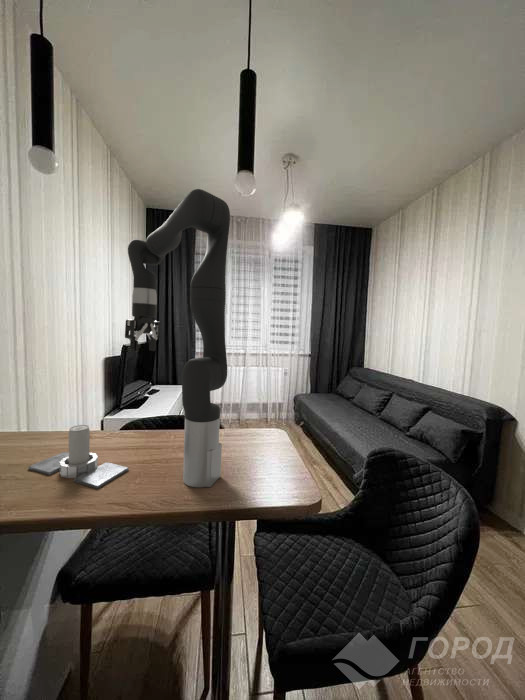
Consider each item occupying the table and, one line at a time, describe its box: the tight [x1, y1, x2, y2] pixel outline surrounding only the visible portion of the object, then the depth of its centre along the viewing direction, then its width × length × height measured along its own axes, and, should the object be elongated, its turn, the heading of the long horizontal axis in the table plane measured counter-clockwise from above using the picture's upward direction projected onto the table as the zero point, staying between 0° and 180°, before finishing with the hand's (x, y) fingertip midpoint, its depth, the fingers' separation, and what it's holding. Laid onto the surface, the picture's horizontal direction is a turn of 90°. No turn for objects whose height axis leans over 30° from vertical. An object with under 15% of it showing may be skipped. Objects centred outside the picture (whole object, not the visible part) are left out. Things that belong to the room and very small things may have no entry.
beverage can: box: [68, 424, 91, 465], centre depth 77 cm, size 5×5×12 cm
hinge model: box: [28, 451, 129, 490], centre depth 78 cm, size 25×10×3 cm, turn 72°
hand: (143, 351), depth 94 cm, fingers open, 8 cm apart
